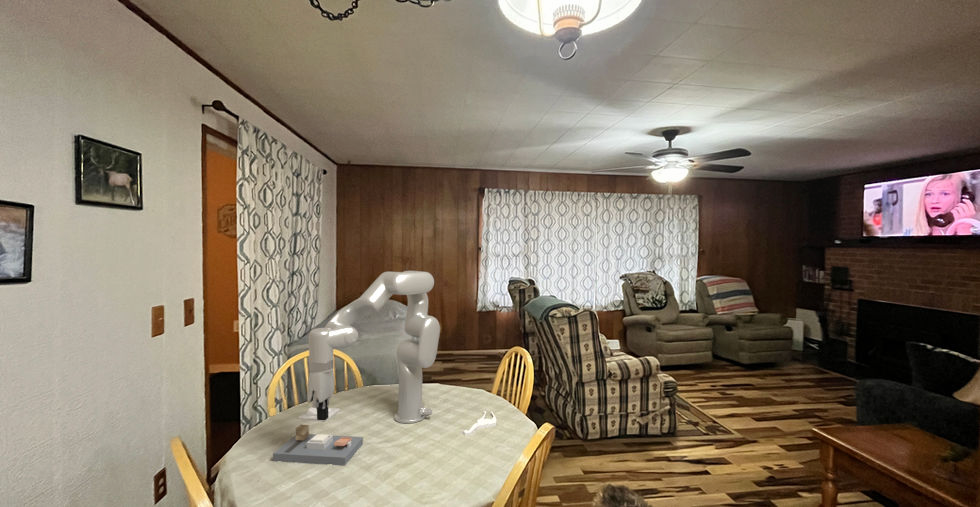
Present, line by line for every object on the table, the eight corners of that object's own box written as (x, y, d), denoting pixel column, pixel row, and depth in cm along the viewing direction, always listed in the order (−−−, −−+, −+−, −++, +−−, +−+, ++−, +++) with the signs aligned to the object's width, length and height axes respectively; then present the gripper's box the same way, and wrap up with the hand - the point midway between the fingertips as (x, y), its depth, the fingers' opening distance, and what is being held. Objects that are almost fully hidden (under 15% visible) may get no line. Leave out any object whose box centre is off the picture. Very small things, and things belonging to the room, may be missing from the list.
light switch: (312, 401, 169) (339, 402, 167) (313, 411, 169) (340, 412, 167) (295, 411, 159) (324, 412, 156) (296, 421, 159) (324, 423, 156)
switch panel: (362, 444, 138) (363, 431, 138) (344, 465, 124) (345, 451, 124) (297, 440, 140) (297, 427, 140) (272, 461, 126) (272, 447, 126)
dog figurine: (466, 410, 166) (460, 431, 146) (497, 411, 165) (495, 433, 145) (466, 414, 166) (460, 436, 146) (497, 415, 165) (495, 438, 145)
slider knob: (308, 436, 137) (308, 424, 137) (303, 440, 134) (304, 428, 134) (300, 435, 138) (300, 424, 138) (295, 440, 135) (295, 428, 135)
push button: (328, 441, 134) (328, 434, 134) (322, 447, 130) (322, 440, 130) (317, 441, 135) (317, 434, 135) (311, 446, 131) (311, 439, 131)
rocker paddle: (351, 442, 134) (351, 436, 135) (343, 447, 129) (344, 441, 129) (342, 442, 135) (342, 436, 135) (334, 446, 129) (334, 440, 129)
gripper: (322, 358, 140) (323, 409, 141) (298, 372, 125) (299, 429, 126) (342, 358, 140) (343, 410, 140) (321, 373, 125) (322, 430, 125)
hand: (322, 419), depth 133 cm, fingers closed
